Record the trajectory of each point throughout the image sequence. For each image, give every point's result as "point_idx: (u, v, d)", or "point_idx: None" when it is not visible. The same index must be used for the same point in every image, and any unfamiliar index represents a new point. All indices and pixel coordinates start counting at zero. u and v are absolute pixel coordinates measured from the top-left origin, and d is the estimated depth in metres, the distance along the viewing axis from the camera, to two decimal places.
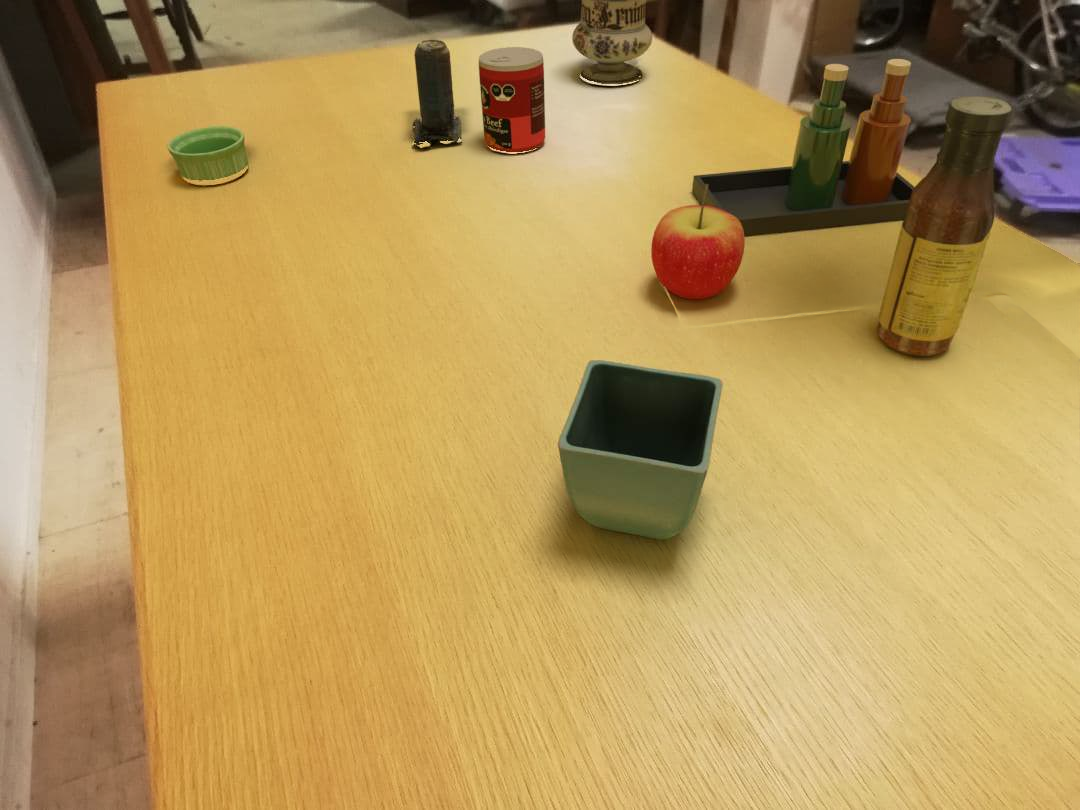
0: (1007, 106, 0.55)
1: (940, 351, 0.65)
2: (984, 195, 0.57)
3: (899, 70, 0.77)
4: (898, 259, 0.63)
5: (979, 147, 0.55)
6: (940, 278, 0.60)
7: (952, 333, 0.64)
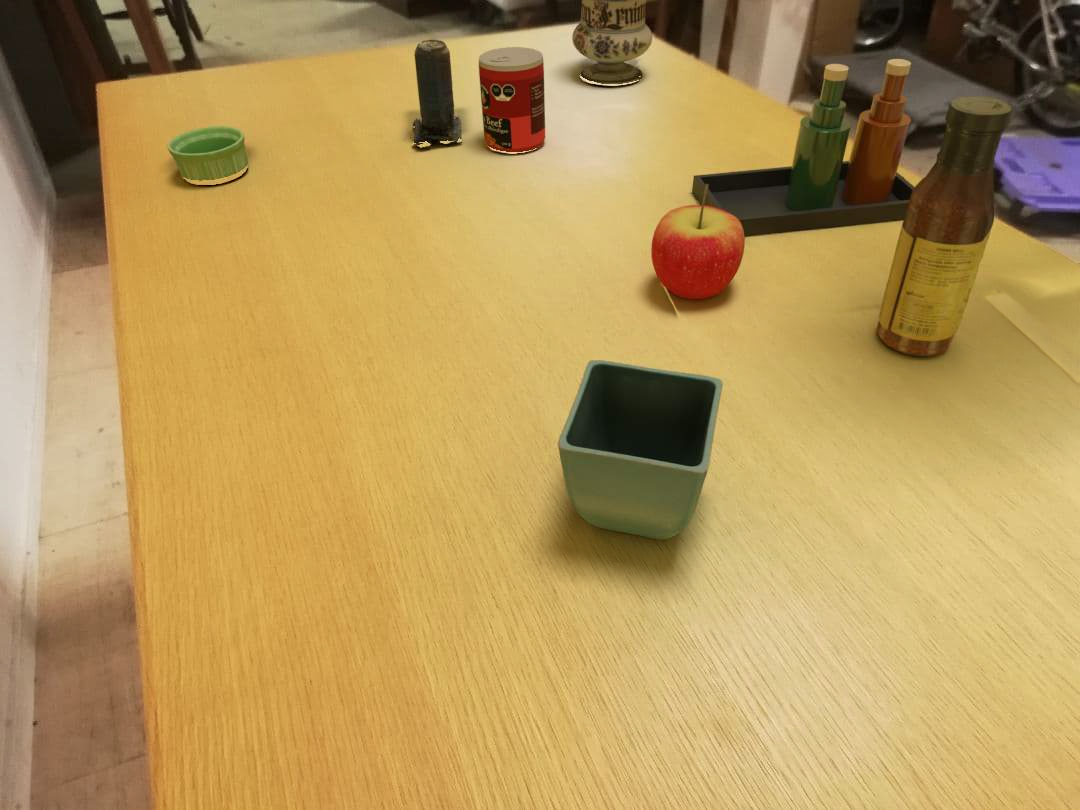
0: (1007, 106, 0.55)
1: (940, 351, 0.65)
2: (984, 195, 0.57)
3: (899, 70, 0.77)
4: (897, 259, 0.63)
5: (979, 147, 0.55)
6: (940, 278, 0.60)
7: (952, 333, 0.64)
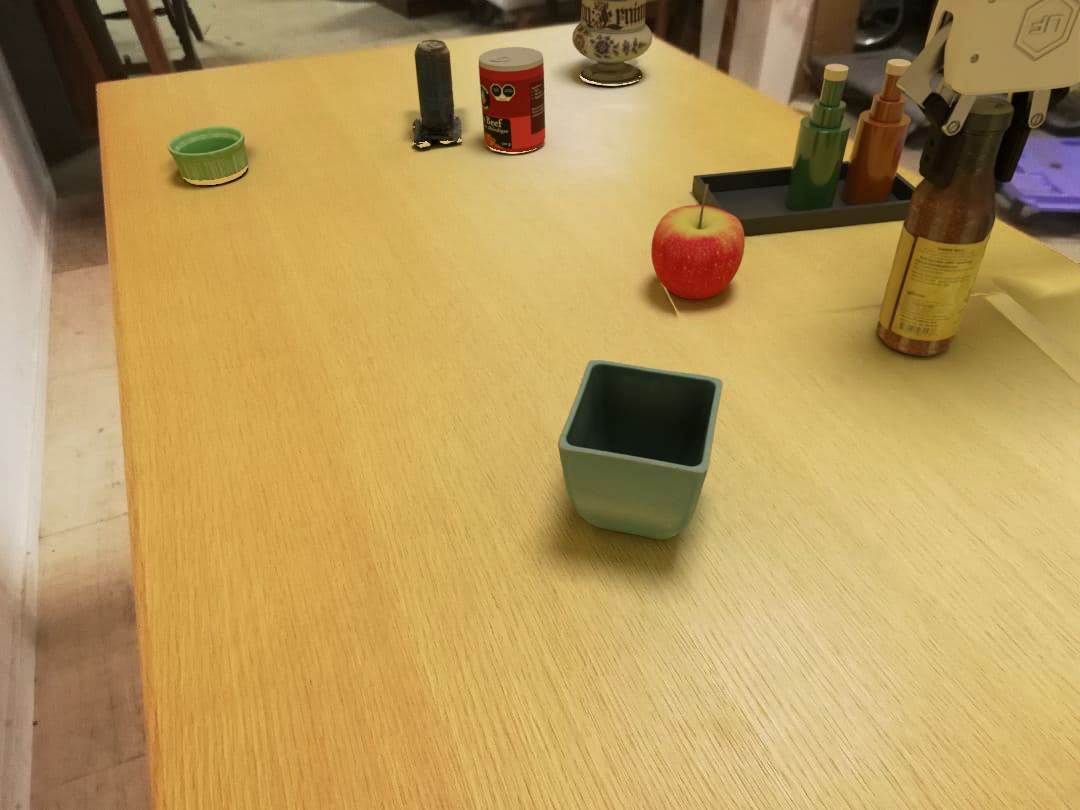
0: (1009, 106, 0.55)
1: (940, 351, 0.65)
2: (986, 195, 0.57)
3: (899, 70, 0.77)
4: (898, 258, 0.62)
5: (981, 147, 0.55)
6: (941, 277, 0.60)
7: (952, 333, 0.64)
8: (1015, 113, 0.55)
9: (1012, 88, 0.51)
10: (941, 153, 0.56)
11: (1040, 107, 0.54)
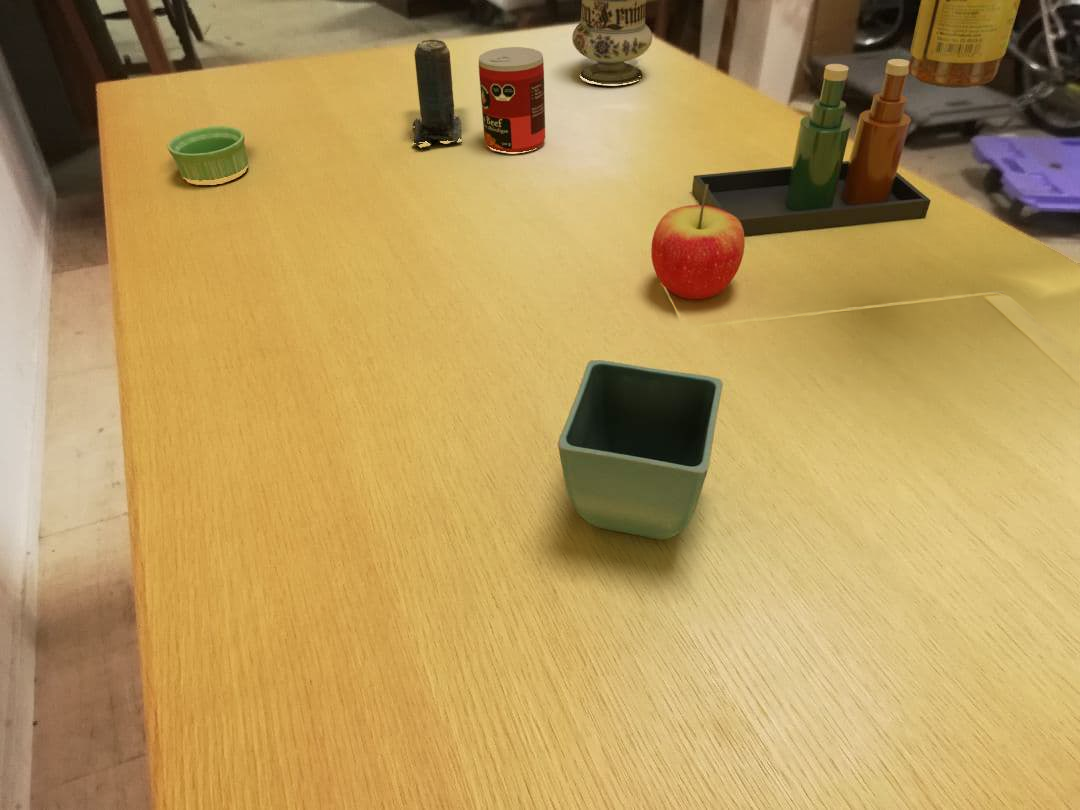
0: None
1: (985, 79, 0.55)
2: None
3: (899, 70, 0.77)
4: None
5: None
6: None
7: (999, 54, 0.54)
8: None
9: None
10: None
11: None
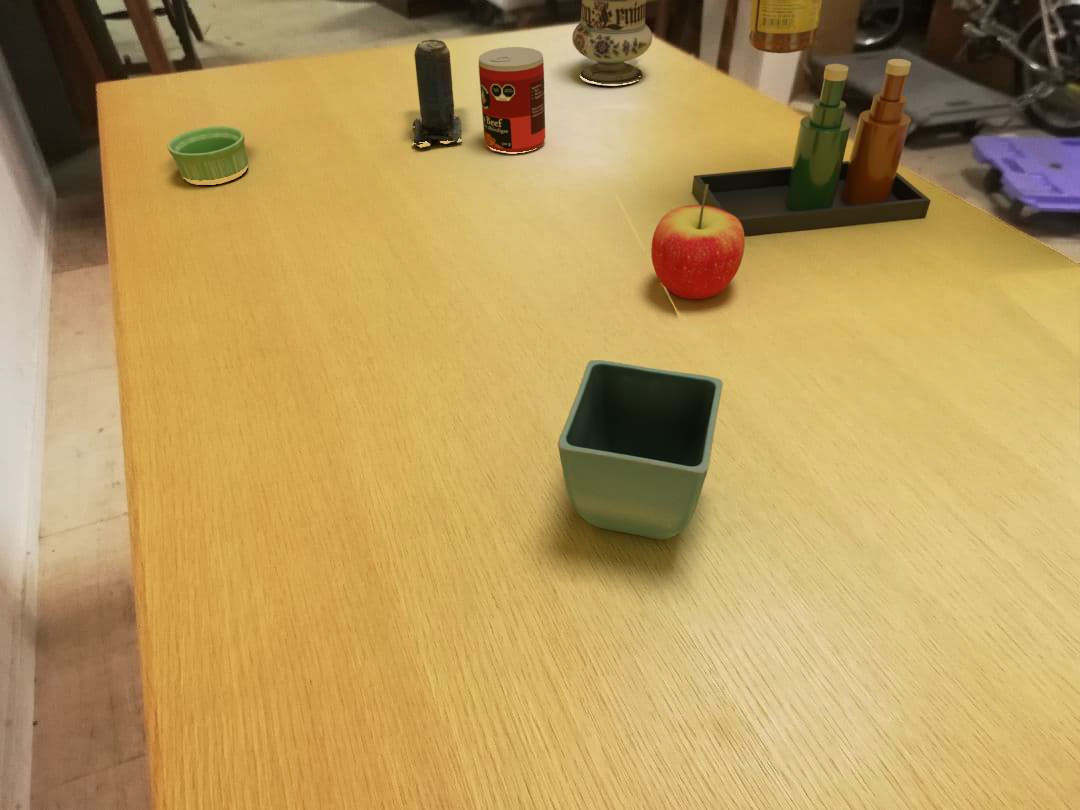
0: None
1: (801, 46, 0.72)
2: None
3: (899, 70, 0.77)
4: None
5: None
6: None
7: (810, 26, 0.71)
8: None
9: None
10: None
11: None
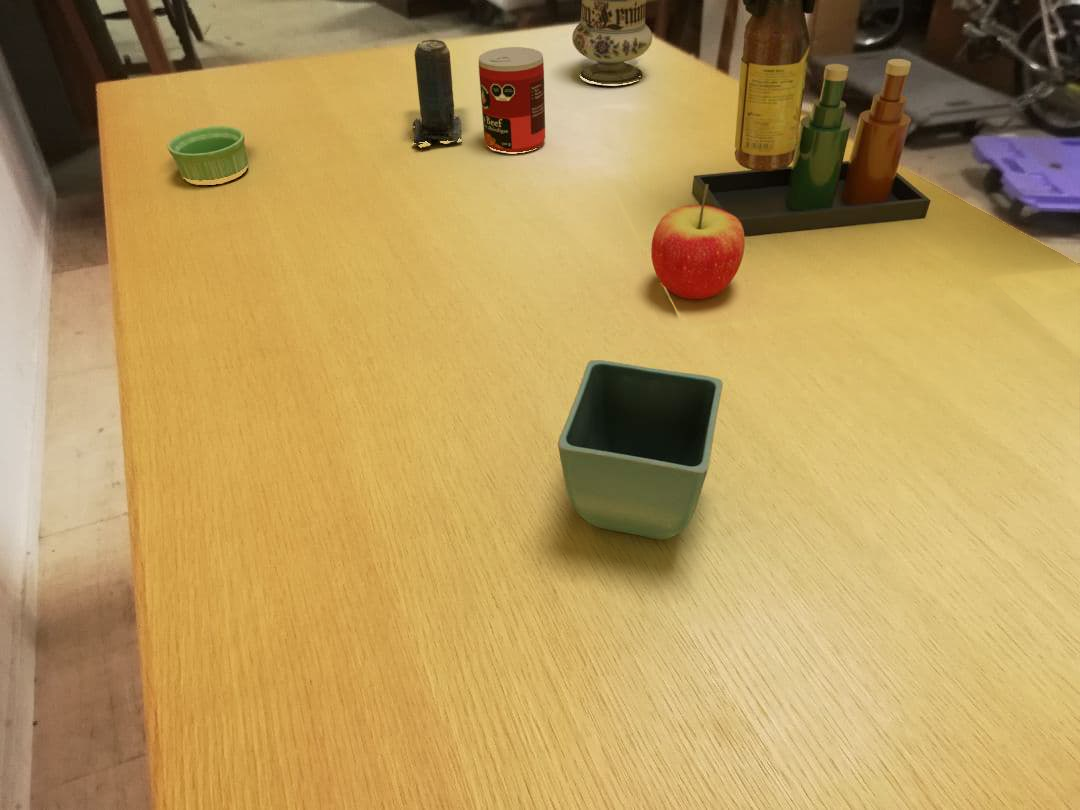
0: None
1: (781, 166, 0.80)
2: (794, 21, 0.71)
3: (899, 70, 0.77)
4: (740, 87, 0.77)
5: None
6: (769, 96, 0.75)
7: (789, 149, 0.79)
8: None
9: None
10: None
11: None
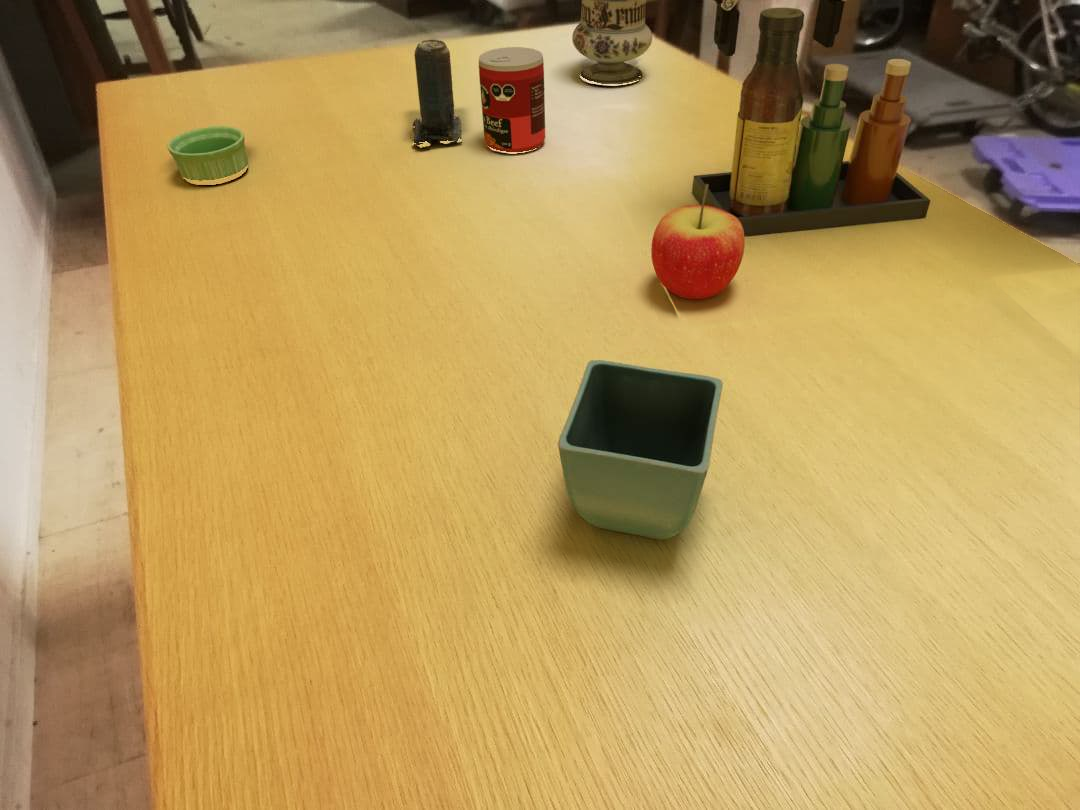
0: (800, 12, 0.73)
1: None
2: (789, 83, 0.75)
3: (899, 70, 0.77)
4: (736, 140, 0.81)
5: (781, 44, 0.73)
6: (764, 151, 0.79)
7: (781, 200, 0.82)
8: None
9: None
10: (725, 26, 0.72)
11: None
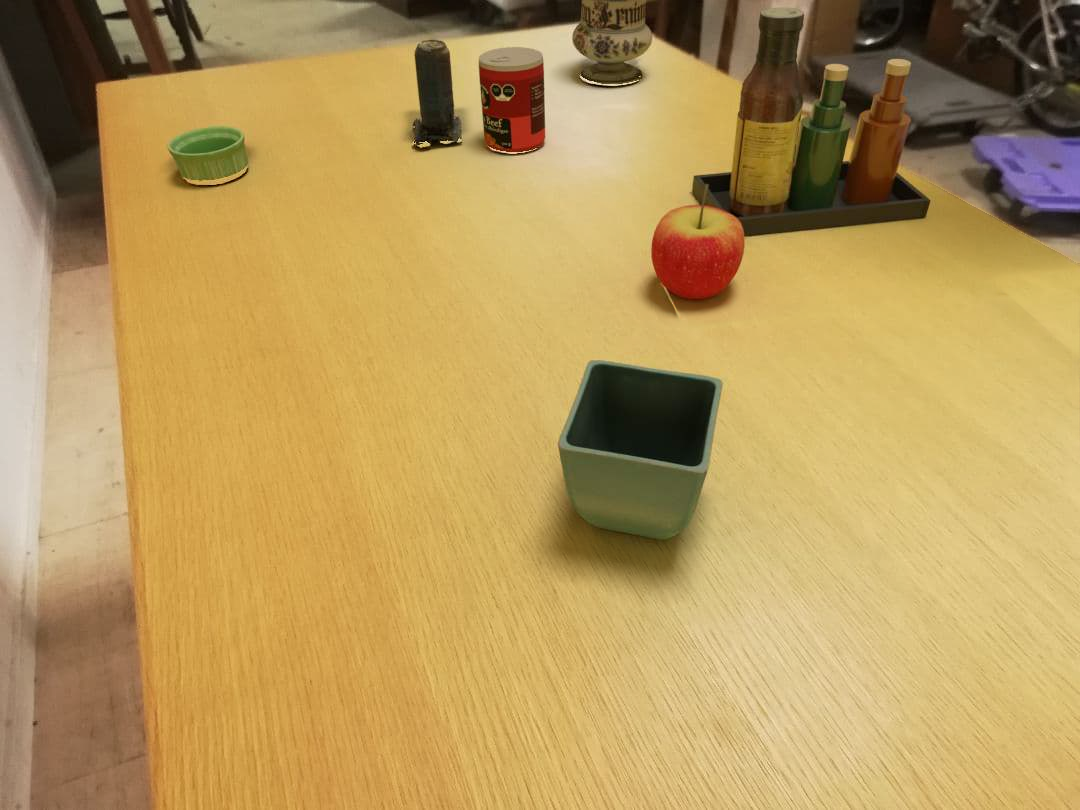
0: (800, 12, 0.73)
1: None
2: (789, 83, 0.75)
3: (899, 70, 0.77)
4: (736, 140, 0.81)
5: (781, 44, 0.73)
6: (764, 151, 0.79)
7: (781, 200, 0.82)
8: None
9: None
10: None
11: None
